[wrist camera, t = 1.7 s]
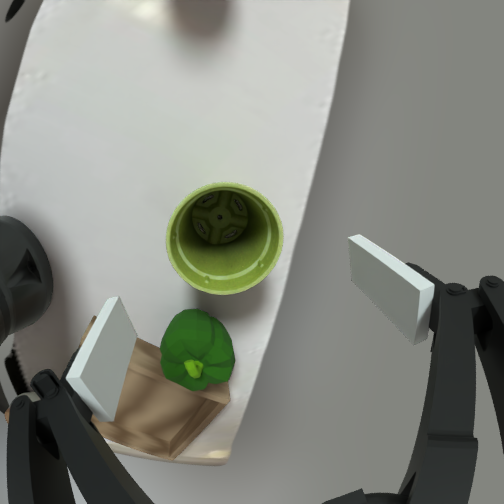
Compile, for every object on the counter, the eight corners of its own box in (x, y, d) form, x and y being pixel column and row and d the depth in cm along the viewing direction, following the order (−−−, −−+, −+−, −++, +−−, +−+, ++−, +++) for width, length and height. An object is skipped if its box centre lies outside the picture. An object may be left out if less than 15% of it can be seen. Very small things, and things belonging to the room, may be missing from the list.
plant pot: (279, 227, 32) (303, 254, 24) (209, 273, 33) (211, 314, 25) (233, 156, 29) (242, 158, 21) (159, 207, 30) (142, 229, 21)
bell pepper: (226, 354, 37) (233, 410, 28) (165, 349, 36) (157, 405, 26) (235, 300, 35) (246, 354, 25) (166, 294, 33) (154, 346, 24)
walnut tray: (69, 396, 37) (61, 417, 32) (94, 315, 33) (81, 337, 28) (173, 439, 43) (172, 460, 38) (227, 374, 39) (230, 400, 34)
